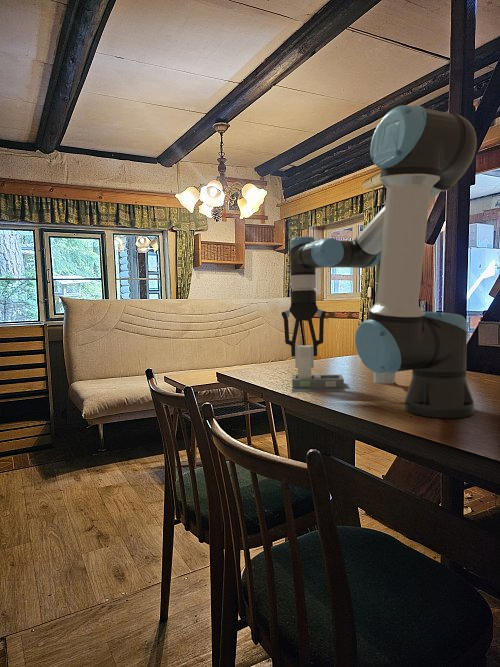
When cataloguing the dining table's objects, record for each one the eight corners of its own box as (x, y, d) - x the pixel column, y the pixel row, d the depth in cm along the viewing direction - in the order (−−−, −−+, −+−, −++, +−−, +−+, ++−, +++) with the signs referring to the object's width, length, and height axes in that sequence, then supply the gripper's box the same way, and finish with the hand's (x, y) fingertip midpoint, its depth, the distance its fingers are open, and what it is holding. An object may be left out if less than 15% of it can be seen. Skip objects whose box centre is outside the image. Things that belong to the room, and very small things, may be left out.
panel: (345, 395, 121) (345, 383, 121) (291, 395, 123) (291, 383, 123) (339, 382, 141) (339, 371, 141) (293, 382, 143) (293, 371, 143)
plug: (311, 380, 130) (311, 347, 129) (298, 380, 130) (297, 347, 129) (311, 377, 134) (310, 345, 133) (298, 377, 135) (297, 345, 134)
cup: (394, 382, 138) (394, 344, 137) (400, 387, 130) (400, 347, 129) (368, 382, 139) (368, 345, 138) (373, 387, 131) (372, 348, 130)
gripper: (331, 289, 133) (332, 365, 135) (275, 290, 135) (277, 365, 137) (333, 288, 126) (333, 369, 127) (274, 290, 128) (275, 369, 129)
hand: (304, 367), depth 132 cm, fingers closed on plug, 4 cm apart
